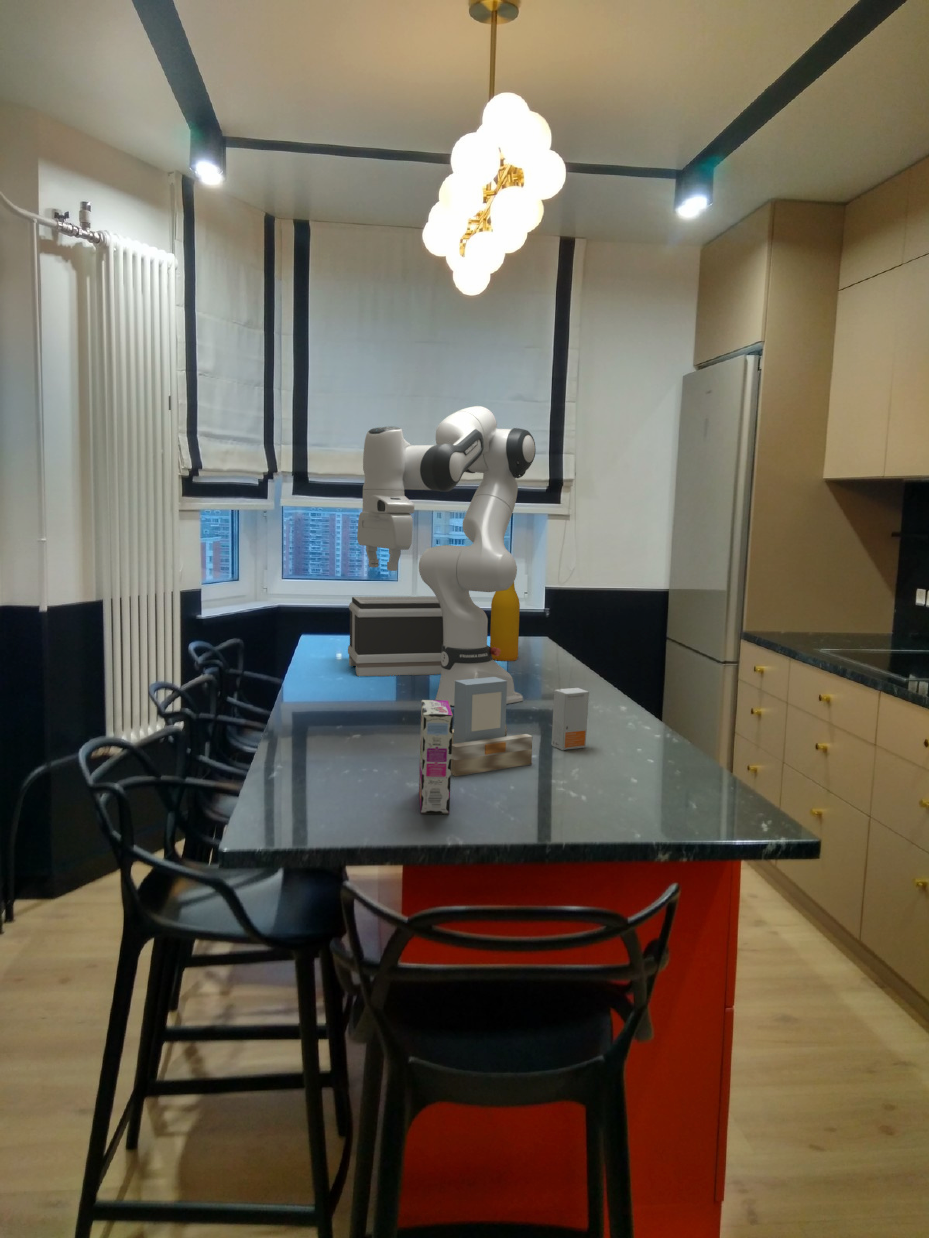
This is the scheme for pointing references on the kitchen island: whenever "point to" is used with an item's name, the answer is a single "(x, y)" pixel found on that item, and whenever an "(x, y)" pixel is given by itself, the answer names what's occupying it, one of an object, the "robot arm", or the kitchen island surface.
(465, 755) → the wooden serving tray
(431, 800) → the candy bar box
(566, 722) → the skincare box
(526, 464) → the robot arm
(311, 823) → the kitchen island surface
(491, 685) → the box
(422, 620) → the toaster
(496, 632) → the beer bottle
